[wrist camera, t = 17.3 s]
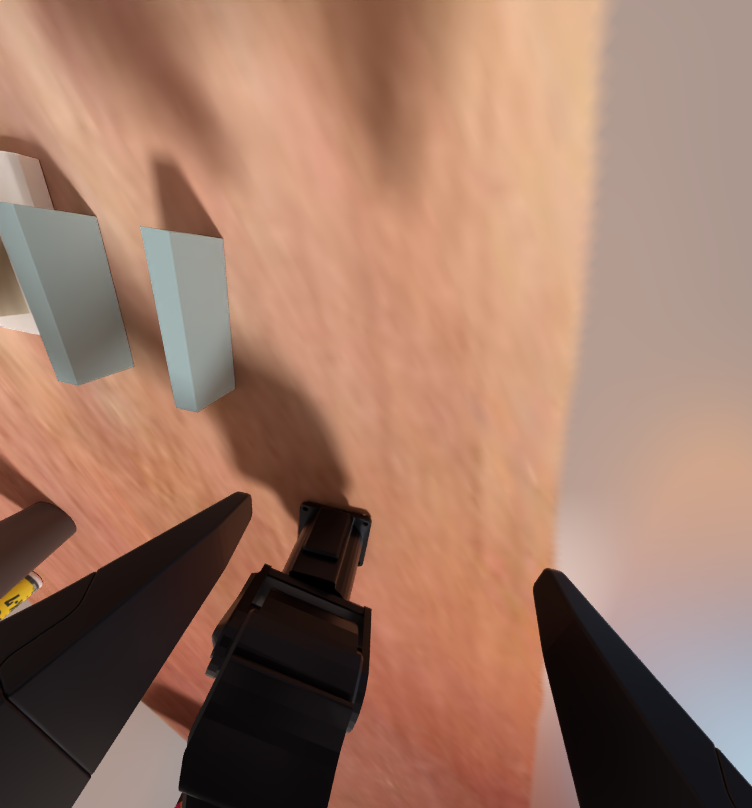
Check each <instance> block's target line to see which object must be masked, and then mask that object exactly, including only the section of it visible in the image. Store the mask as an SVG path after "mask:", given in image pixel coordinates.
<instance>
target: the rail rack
mask: <svg viewBox="0 0 752 808" xmlns="http://www.w3.org/2000/svg"><path fill="white" fill-rule="evenodd" d="M140 228H141V233H142V238H143V243H144V248H145V253H146V258H147V264H148V269H149V274H150V279H151V284H152V289H153V294H154V299H155V304H156V309H157V315H158V320H159V325H160V330H161V335H162V340H163V345H164V350H165V355H166V361H167V366H168V371H169V376H170V381H171V386H172V391H173V396H174V401H175V406H176V408H180V409H184V410H188V411H193V412H199V411H201V410H202V409H204V408H205V407H207V406H209V405H210V404H212V403H213V402H215V401H216V400H218V399H220V398H221V397H223V396H224V395H226V394H228V393H229V392H231V391H232V390H234V389H235V379H234V367H233V355H232V343H231V331H230V319H229V307H228V295H227V283H226V271H225V259H224V247H223V239H221V238H215V237H210V236H204V235H198V234H191V233H184V232H177V231H170V230H163V229H156V228H149V227H142V226H140ZM0 234H1V237H2V239H3V242H4V244H5V247H6V249H7V252H8V254H9V257H10V260H11V262H12V265H13V267H14V270H15V272H16V275H17V277H18V280H19V282H20V285H21V287H22V290H23V293H24V295H25V298H26V300H27V303H28V305H29V308H30V310H31V313H32V315H33V318H34V321H35V323H36V326H37V328H38V331H39V333H40V336H41V338H42V341H43V343H44V346H45V349H46V351H47V354H48V356H49V359H50V361H51V364H52V366H53V369H54V371H55V374H56V377H57V379H58V381H61V382H65V383H69V384H74V385H81V384H84V383H87V382H90V381H93V380H96V379H99V378H102V377H105V376H108V375H111V374H114V373H117V372H120V371H123V370H126V369H129V368H132V367H134V364H133V360H132V356H131V352H130V348H129V344H128V340H127V336H126V332H125V328H124V324H123V320H122V316H121V312H120V308H119V304H118V301H117V297H116V293H115V289H114V285H113V281H112V277H111V273H110V269H109V265H108V261H107V257H106V253H105V249H104V245H103V241H102V237H101V233H100V229H99V226H98V222H97V218H96V217H95V216H89V215H83V214H77V213H71V212H65V211H58V210H52V209H45V208H39V207H32V206H26V205H19V204H13V203H6V202H0Z"/></svg>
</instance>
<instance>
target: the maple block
mask: <svg viewBox="0 0 752 808" xmlns="http://www.w3.org/2000/svg"><path fill="white" fill-rule="evenodd" d="M27 313H30V312H29V310H28V307H27V305H26V302H25V299H24V297H23V294H22V292H21V289H20V286H19V284H18V281H17V279H16V276H15V273H14V271H13V268H12V266H11V263H10V260H9V258H8V255H7V253H6V250H5V247H4V245H3V242H2V240H1V237H0V317H1V316H10V315H19V314H27Z"/></svg>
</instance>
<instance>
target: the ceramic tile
mask: <svg viewBox="0 0 752 808" xmlns="http://www.w3.org/2000/svg"><path fill="white" fill-rule="evenodd" d="M0 202H6V203H13V204H19V205H26V206H32V207H39V208H45V209H52V210H54V208H53V205H52V202H51V199H50V195H49V192H48V189H47V186H46V182H45V179H44V176H43V173H42V169H41V166H40V163H39V160H38V159H35V158H32V157H28V156H25V155H21V154H17V153H12V152H5V151H0ZM0 237H1V234H0ZM1 240H2V242H3V239H2V237H1ZM3 245H4V247H5V244H4V242H3ZM5 250H6V253H7V255H8V258H9V260H10V257H9V254H8V252H7V249H6V247H5ZM10 263H11V266H12V268H13V271H14V273H15V276H16V279H17V281H18V284H19V286H20V289H21V292H22V294H23V297H24V299H25V302H26V305H27V307H28V310H29V312H30V313H27V314H19V315H10V316H1V317H0V327H4V328H9V329H13V330H18V331H23V332H27V333H32V334H37V335H40V333H39V331H38V328H37V326H36V323H35V321H34V318H33V315H32V313H31V310H30V308H29V305H28V303H27V300H26V298H25V295H24V293H23V290H22V287H21V285H20V282H19V280H18V277H17V275H16V272H15V270H14V267H13V265H12V262H11V260H10Z"/></svg>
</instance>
